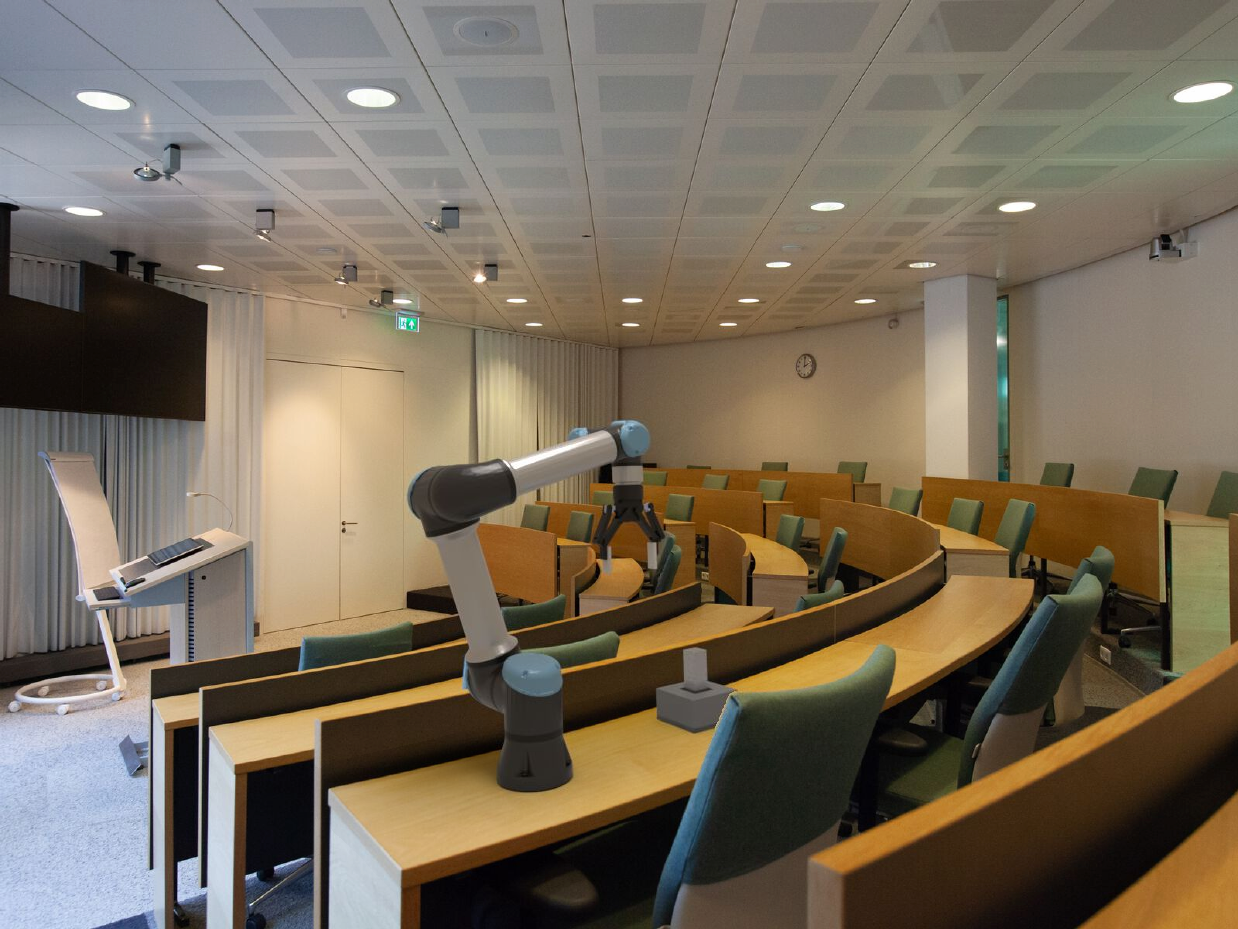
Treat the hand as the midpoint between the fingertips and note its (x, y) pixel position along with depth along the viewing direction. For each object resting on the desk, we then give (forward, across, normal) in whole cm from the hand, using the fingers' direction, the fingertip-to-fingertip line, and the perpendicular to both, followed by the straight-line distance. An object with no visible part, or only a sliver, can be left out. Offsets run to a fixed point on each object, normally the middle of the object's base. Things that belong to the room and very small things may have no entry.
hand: (630, 571), depth 181 cm
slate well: (+37, -13, +8) cm, 40 cm away
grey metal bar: (+36, -13, +8) cm, 39 cm away
